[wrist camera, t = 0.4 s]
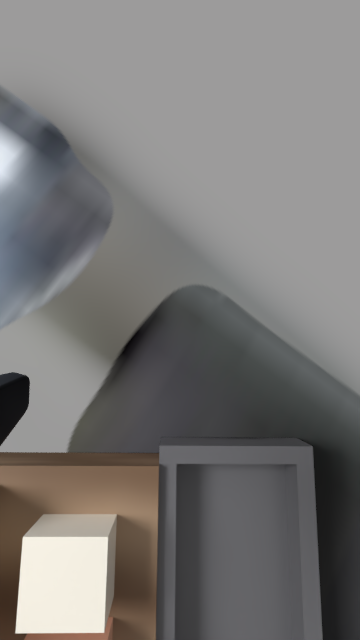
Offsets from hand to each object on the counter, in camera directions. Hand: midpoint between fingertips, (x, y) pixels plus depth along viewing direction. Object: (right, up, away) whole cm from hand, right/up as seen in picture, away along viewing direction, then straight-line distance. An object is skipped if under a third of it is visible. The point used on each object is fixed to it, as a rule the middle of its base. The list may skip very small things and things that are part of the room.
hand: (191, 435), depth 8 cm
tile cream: (-6, -10, +10) cm, 15 cm away
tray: (+3, -13, +12) cm, 18 cm away
